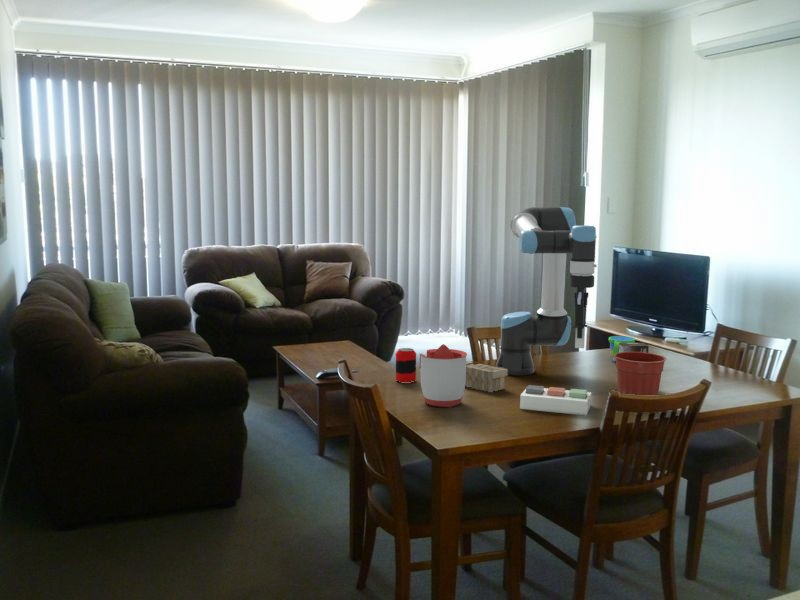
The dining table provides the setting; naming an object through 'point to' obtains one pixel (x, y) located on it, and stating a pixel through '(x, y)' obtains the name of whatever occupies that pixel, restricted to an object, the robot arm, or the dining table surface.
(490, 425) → the dining table surface
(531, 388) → the charcoal key
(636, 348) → the coffee box
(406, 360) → the soda can
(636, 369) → the flower pot
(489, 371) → the block tower
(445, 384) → the citrus juicer
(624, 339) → the snack cup
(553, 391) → the brick key
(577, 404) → the key panel
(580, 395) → the sage key
